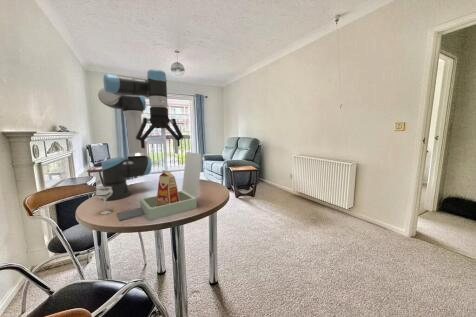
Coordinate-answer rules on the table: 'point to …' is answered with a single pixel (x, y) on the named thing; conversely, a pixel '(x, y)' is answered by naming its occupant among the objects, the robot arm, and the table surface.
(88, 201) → the table surface
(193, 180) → the lid
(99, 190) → the wineglass
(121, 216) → the mat
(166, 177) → the milk carton
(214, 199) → the table surface
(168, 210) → the green shallow open box
